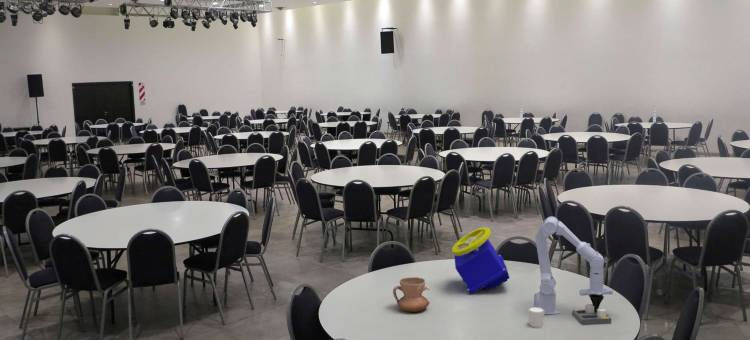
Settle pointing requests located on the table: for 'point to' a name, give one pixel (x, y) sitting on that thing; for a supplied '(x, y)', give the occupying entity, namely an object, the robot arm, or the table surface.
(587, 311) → the white block
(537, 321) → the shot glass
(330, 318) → the table surface
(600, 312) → the white rectangular block
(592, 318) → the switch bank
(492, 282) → the blue valve with handwheel
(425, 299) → the ceramic jug
